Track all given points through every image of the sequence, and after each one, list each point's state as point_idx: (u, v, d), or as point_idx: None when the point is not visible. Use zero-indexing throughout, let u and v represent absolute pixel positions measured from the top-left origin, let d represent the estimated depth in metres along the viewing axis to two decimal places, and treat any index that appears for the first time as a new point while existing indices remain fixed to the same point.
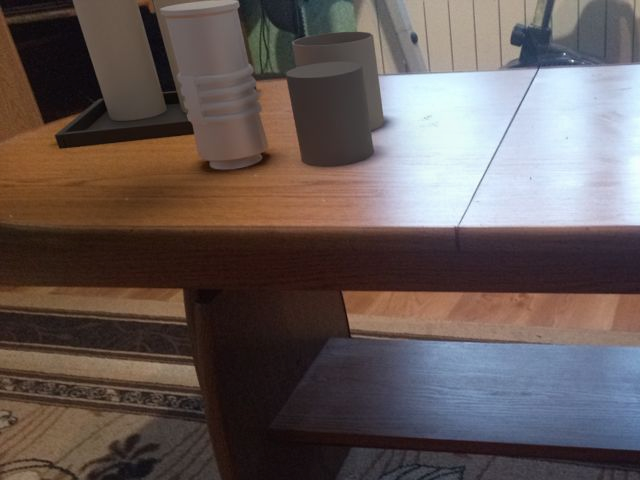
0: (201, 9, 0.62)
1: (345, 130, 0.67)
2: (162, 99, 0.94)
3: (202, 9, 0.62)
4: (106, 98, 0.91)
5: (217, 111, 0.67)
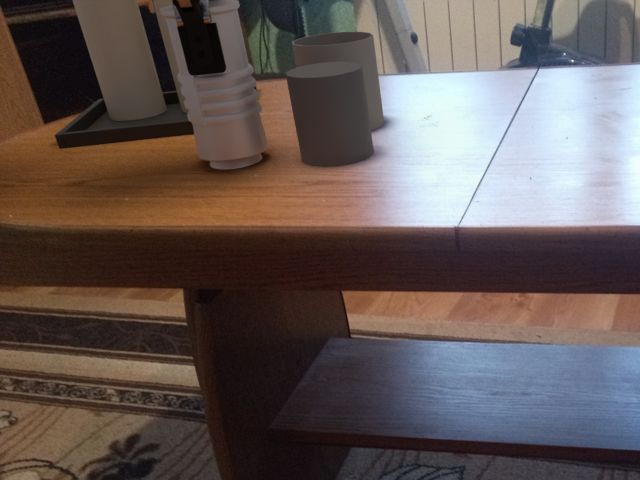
0: None
1: (345, 130, 0.67)
2: (162, 99, 0.94)
3: None
4: (106, 98, 0.91)
5: (217, 111, 0.67)
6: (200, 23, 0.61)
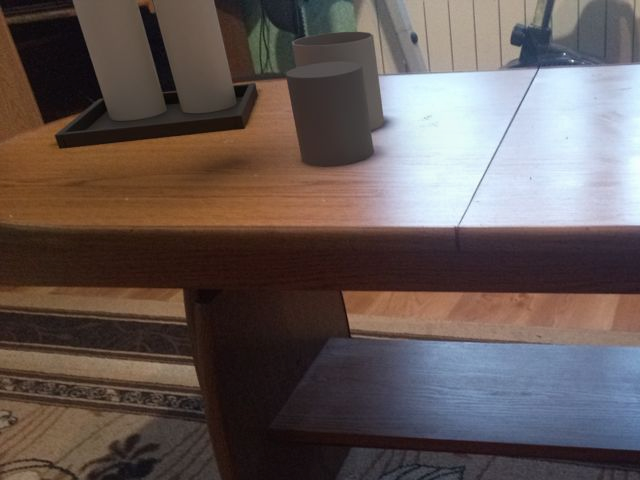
0: None
1: (345, 130, 0.67)
2: (162, 99, 0.94)
3: None
4: (106, 98, 0.91)
5: None
6: None
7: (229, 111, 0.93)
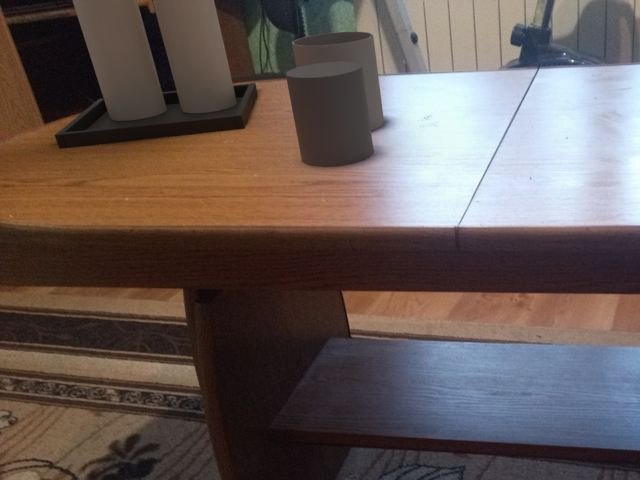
0: None
1: (345, 130, 0.67)
2: (162, 99, 0.94)
3: None
4: (106, 98, 0.91)
5: None
6: None
7: (229, 111, 0.93)
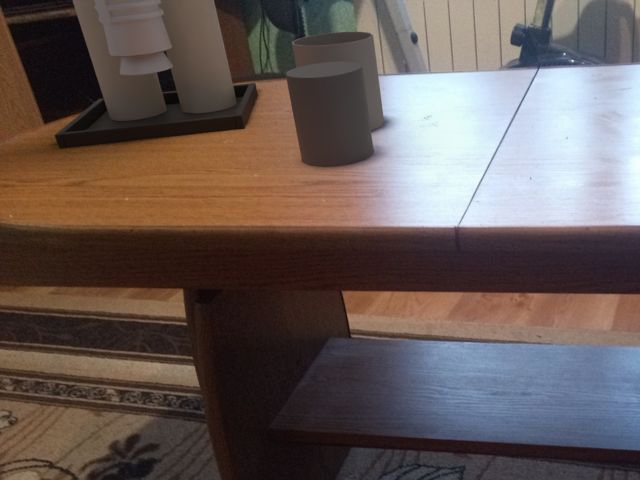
0: None
1: (345, 130, 0.67)
2: (162, 99, 0.94)
3: None
4: (106, 98, 0.91)
5: (121, 11, 0.79)
6: None
7: (229, 111, 0.93)
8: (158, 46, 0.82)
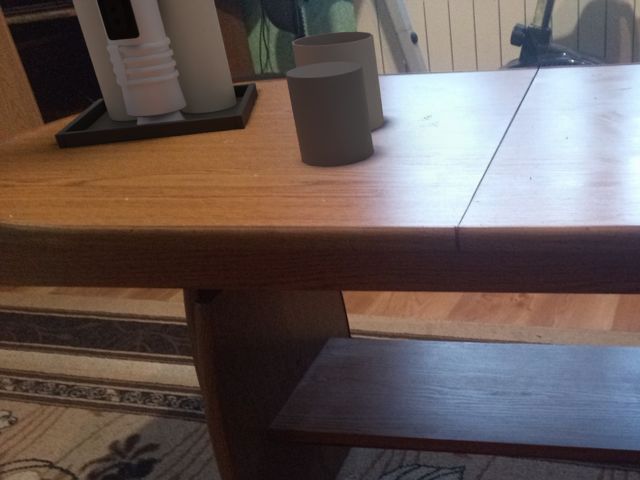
0: None
1: (345, 130, 0.67)
2: None
3: None
4: (106, 98, 0.91)
5: (139, 75, 0.82)
6: None
7: (229, 111, 0.93)
8: (173, 106, 0.85)
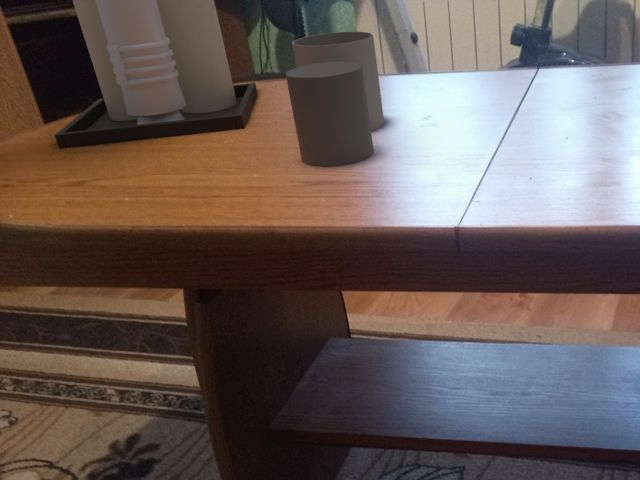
0: None
1: (345, 130, 0.67)
2: None
3: None
4: (106, 98, 0.91)
5: (139, 75, 0.82)
6: None
7: (229, 111, 0.93)
8: (173, 106, 0.85)
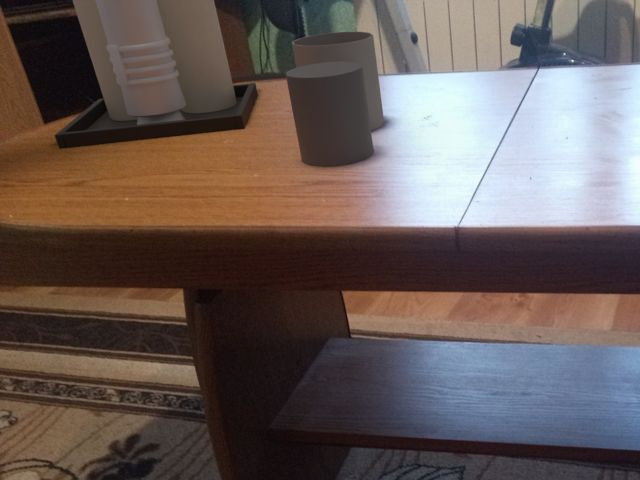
0: None
1: (345, 130, 0.67)
2: None
3: None
4: (106, 98, 0.91)
5: (139, 75, 0.82)
6: None
7: (229, 111, 0.93)
8: (173, 106, 0.85)
